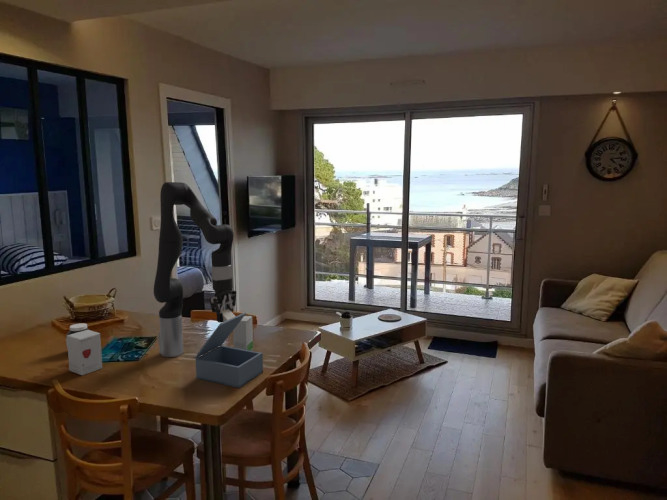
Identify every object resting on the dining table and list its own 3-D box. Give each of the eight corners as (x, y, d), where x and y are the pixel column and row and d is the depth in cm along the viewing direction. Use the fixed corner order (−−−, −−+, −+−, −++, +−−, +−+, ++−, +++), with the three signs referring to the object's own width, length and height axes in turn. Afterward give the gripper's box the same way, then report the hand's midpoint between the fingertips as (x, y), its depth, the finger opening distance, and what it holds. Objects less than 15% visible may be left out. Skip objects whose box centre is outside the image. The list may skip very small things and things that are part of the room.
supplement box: (81, 376, 185) (78, 339, 183) (68, 371, 190) (65, 335, 188) (103, 368, 193) (100, 332, 191) (90, 363, 198) (87, 329, 195)
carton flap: (195, 358, 182) (187, 348, 183) (221, 345, 196) (213, 336, 198) (221, 324, 174) (212, 314, 175) (246, 313, 189) (238, 304, 190)
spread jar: (87, 345, 218) (85, 321, 216) (100, 350, 212) (98, 325, 210) (60, 353, 208) (57, 328, 207) (72, 359, 202) (70, 333, 200)
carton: (196, 378, 183) (195, 358, 182) (222, 363, 198) (221, 345, 196) (239, 388, 175) (238, 367, 174) (263, 372, 190) (262, 353, 188)
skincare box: (246, 355, 207) (245, 321, 204) (232, 354, 208) (231, 320, 205) (253, 348, 215) (253, 315, 212) (240, 347, 216) (239, 314, 213)
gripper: (225, 273, 189) (228, 314, 192) (201, 280, 176) (204, 324, 179) (241, 274, 186) (243, 316, 188) (218, 281, 173) (221, 326, 176)
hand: (224, 320), depth 184 cm, fingers closed on carton flap, 5 cm apart
